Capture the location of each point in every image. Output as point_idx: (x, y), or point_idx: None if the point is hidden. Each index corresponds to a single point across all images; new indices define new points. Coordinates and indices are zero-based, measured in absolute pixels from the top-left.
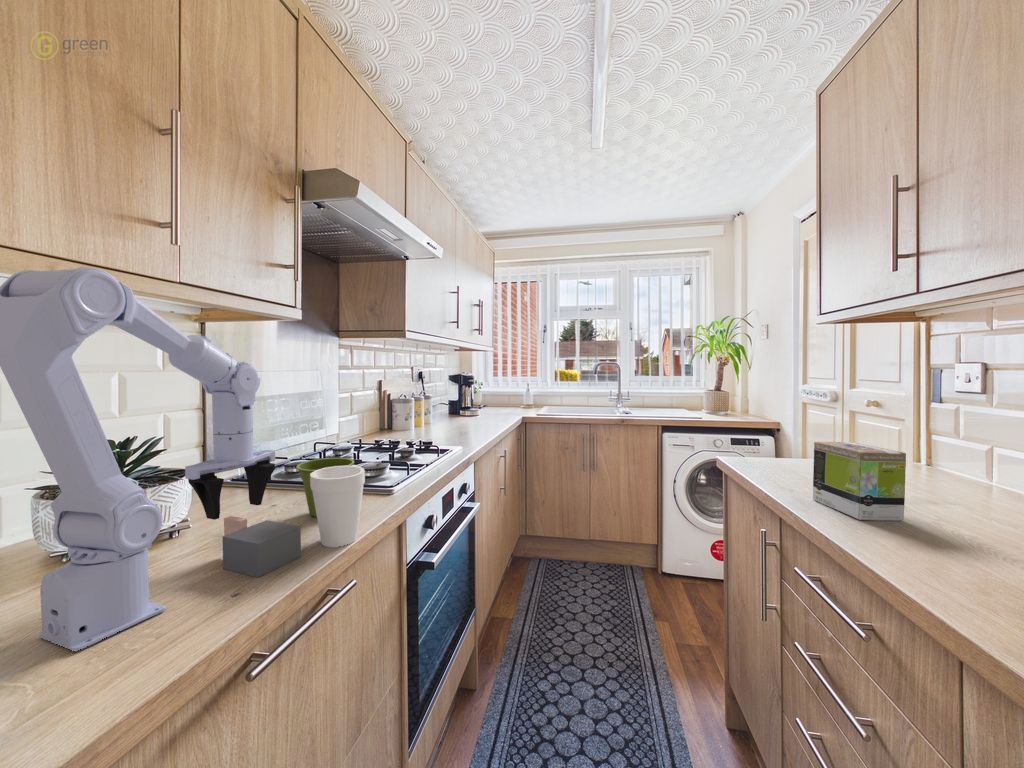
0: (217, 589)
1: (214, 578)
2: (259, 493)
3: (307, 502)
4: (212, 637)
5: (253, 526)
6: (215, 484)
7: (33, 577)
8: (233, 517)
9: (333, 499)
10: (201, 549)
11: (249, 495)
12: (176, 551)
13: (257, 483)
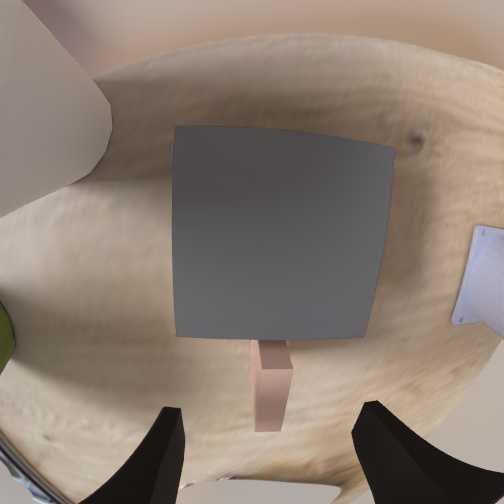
0: (410, 204)
1: None
2: (168, 449)
3: (2, 368)
4: (488, 84)
5: (252, 327)
6: (484, 485)
7: None
8: (265, 415)
9: (31, 21)
10: None
11: (180, 470)
12: (277, 439)
13: (161, 500)
